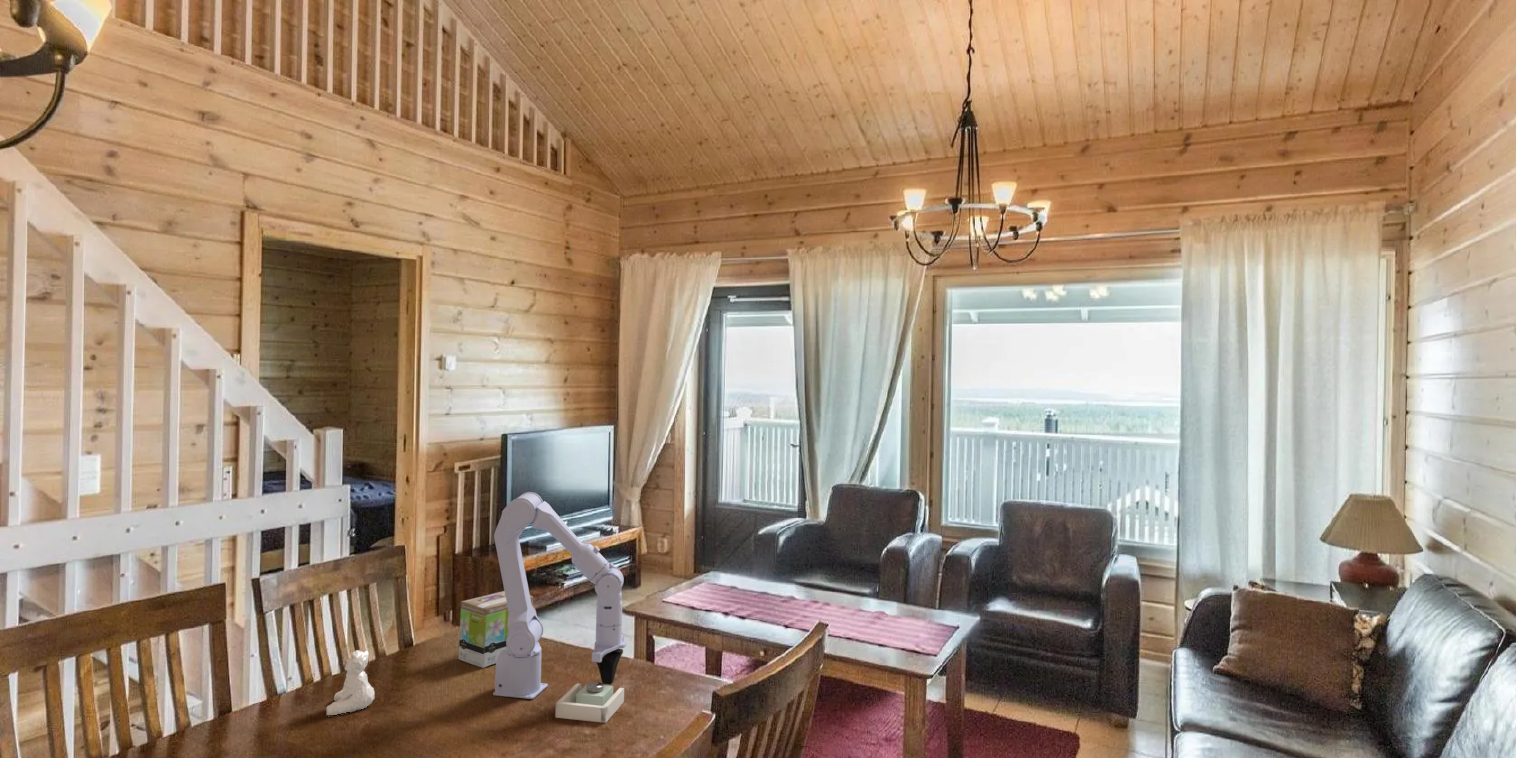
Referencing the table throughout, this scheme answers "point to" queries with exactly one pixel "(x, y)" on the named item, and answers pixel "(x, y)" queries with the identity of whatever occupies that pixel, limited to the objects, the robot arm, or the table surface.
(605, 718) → the housing bay
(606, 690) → the block
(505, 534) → the robot arm
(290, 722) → the table surface
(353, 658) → the seated beast figurine
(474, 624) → the tea box
